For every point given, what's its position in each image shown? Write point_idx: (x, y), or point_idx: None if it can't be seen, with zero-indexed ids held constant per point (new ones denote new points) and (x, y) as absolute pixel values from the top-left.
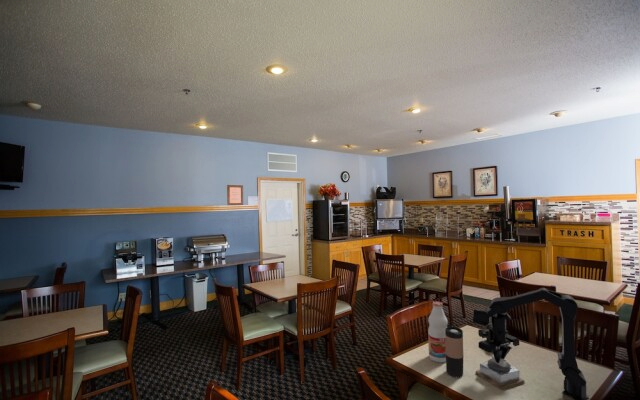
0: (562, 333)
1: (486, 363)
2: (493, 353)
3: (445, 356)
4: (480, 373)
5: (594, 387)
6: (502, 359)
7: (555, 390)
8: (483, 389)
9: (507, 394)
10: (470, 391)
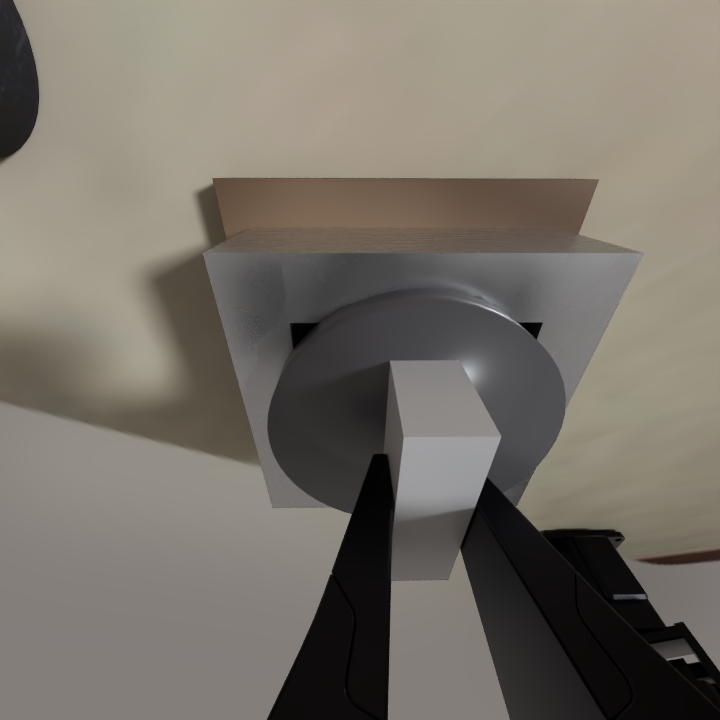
0: None
1: (313, 302)
2: (310, 642)
3: None
4: None
5: (715, 544)
6: (430, 557)
7: (545, 515)
8: (148, 398)
9: None
10: (26, 383)
